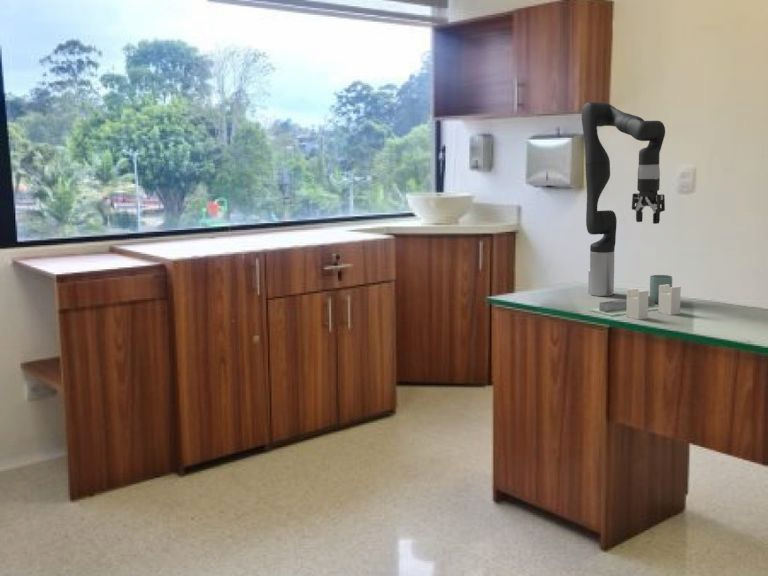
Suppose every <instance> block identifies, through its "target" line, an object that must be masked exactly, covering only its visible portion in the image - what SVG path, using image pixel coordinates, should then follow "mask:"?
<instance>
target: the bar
mask: <svg viewBox="0 0 768 576" xmlns="http://www.w3.org/2000/svg"><path fill="white" fill-rule="evenodd" d="M654 305H655V303H654V297H650V295H648V307H649V306H654ZM598 308H599V311H601V312H612V311H619V310H626V309H627V298H626V299H617V300H611V301H610V300H608V301H602V302H599V307H598Z"/></svg>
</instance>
